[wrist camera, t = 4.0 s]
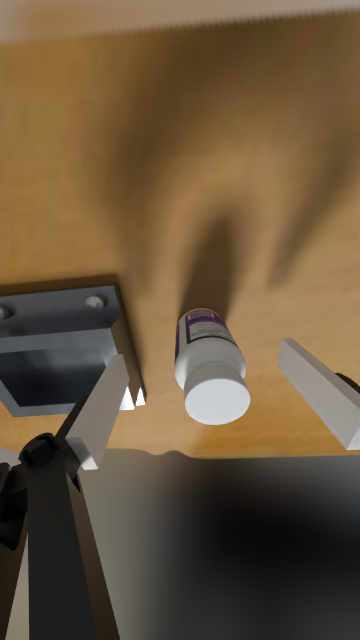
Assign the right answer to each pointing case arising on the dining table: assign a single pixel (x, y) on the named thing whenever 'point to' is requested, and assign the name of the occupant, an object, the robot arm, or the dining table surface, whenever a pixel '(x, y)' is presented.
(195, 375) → the pill bottle
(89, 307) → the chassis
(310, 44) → the dining table surface
